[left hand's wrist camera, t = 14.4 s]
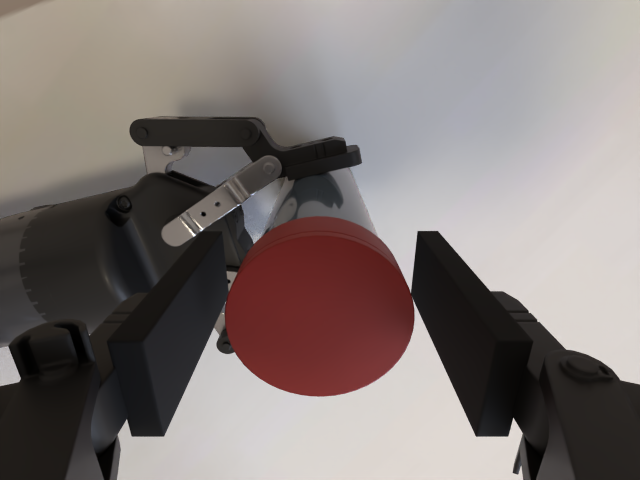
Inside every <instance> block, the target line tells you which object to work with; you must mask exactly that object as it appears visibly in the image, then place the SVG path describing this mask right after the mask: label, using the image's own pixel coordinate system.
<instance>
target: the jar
mask: <svg viewBox="0 0 640 480" xmlns="http://www.w3.org/2000/svg"><path fill="white" fill-rule="evenodd" d="M313 216H328V217H335V218H341V219H344V220H348V221H351V222H353V223H356V224H358V225H360V226H362V227H364V228H366V229H367V230H369V231H371V232H372V233H373V234H375V235H376V236H377V237H378V235H377V233H376V230H375V228H374V225H373V223H372V221H371V218H370V216H369V213H368V211H367V208H366V206H365V204H364V201H363V199H362V196H361V194H360V192H359V189H358V187H357V184H356V182H355V180H354V177H353V175H352V172H351V171H350V169H349V168H343V169H339V170H335V171H330V172H326V173H322V174H317V175H313V176H308V177H304V178H300V179H296V180H291V181H288V178H287V176H286V178H285V180H284V183H283V185H282V188H281V190H280V192H279V195H278V197H277V200H276V202H275V204H274V207H273V209H272V212H271V214H270V216H269V219H268V221H267V223H266V226H265V228H264V231H263V233H262V235H261V237H262V236H263V235H265V234H266V233H267V232H269V231H270V230H272V229H273V228H275V227H277V226H279V225H281V224H283V223H286V222H289V221H291V220H295V219H299V218H304V217H313ZM378 238H379V237H378Z"/></svg>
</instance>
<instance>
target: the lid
mask: <svg viewBox="0 0 640 480" xmlns="http://www.w3.org/2000/svg"><path fill="white" fill-rule="evenodd" d="M225 327H226V331H227V335H228V338H229V341H230V343H231V346H232V348H233V350H234V351H235V353H236V355H237V356H238V358H239V359H240V360H241V361H242V363H243V364H244V365H245V366H246V367H247V368H248V369H249V370H250V371H251V372H252V373H253V374H255V375H256V376H257V377H259V378H260V379H261V380H263V381H265V382H266V383H268V384H270V385H272V386H274V387H276V388H279V389H281V390H284V391H287V392H290V393H295V394H299V395H306V396H334V395H340V394H345V393H349V392H352V391H355V390H358V389H360V388H363V387H365V386H367V385H369V384H371V383H373V382H375V381H376V380H378V379H379V378H381V377H382V376H383V375H385V374H386V373H387V372H388V371H389V370H390V369H391V368H392V367H393V366H394V365H395V364H396V363H397V362H398V361H399V359H400V358H401V356H402V355H403V353H404V352H405V350H406V348H407V346H408V344H409V342H410V339H411V335H412V332H413V327H414V305H413V299H412V296H411V293H410V290H409V287H408V285H407V283H406V281H405V279H404V276H403V274H402V272H401V270H400V268H399V266H398V264H397V262H396V260H395V258H394V256H393V254H392V253H391V251H390V250H389V248H388V247H387V246H386V245H385V244H384V243H383V242H382V241H381V239H380V238H378V237H377V236H376V235H375V234H373V233H372V232H371V231H369V230H367V229H366V228H364V227H362V226H360V225H358V224H356V223H353V222H351V221H348V220H344V219H341V218H335V217H328V216H313V217H304V218H299V219H295V220H291V221H289V222H286V223H283V224H281V225H279V226H277V227H275V228H273V229H272V230H270V231H269V232H267V233H266V234H265V235H263V236H262V237H261V238H260V239H259V240H258V241H257V242H256V243H255V244H254V245H253V246H252V247H251V249H250V250H249V251H248V253H247V255H246V256H245V258H244V260H243V262H242V264H241V266H240V268H239V270H238V272H237V275H236V277H235V279H234V281H233V283H232V286H231V288H230V291H229V293H228V296H227V300H226V305H225Z"/></svg>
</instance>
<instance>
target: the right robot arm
mask: <svg viewBox="0 0 640 480" xmlns="http://www.w3.org/2000/svg"><path fill="white" fill-rule="evenodd" d="M130 135H131V137H132V139H133V140H134V142H136V143H137V144H138V145H141V146H142V147H143V153H144V158H145V164H146V170H147V175H145V176H144V177H142V178H141V179H140V180H139V182H138V183H137V184H136V185H134V186H132V187H128V188H124V189H120V190H115V191H111V192H107V193H103V194H99V195H94V196H90V197H86V198H82V199H78V200H73V201H69V202H65V203H61V204H56V205H45V206H39V207H35V208H33V209H31V210H30V211H27V212H23V213H19V214H15V215H12V216H8V217H5V218H2V219H0V348H1V347H7V346H8V345H9V344H10V343H11V342H12V341H13V340H14V339H15V338H16V337H17V336H19V335H20V334H22V333H24V332H25V331H27V330H29V329H31V328H33V327H36V326H38V325H41V324H43V323H47V322H51V321H55V320H62V319H75V320H81V321H82V322H83V323H85V324H86V327H87V330H88V333H89V334H91V333H92V332H93V331H94V330H95V329H96V328H97V327H98V326H99V325H100V324H101V323H103V321H104V320H105V319H106V318H107V317H108V316H109V315H110V314H112V311H113V310H114V309H115V308H116V307H117V306H118V305H119V304H120V303H121V302H122V301H124V300H126V299H127V298H129V297H131V296H133V295H134V294H136V293H149V292H150V291H151V289H152V288H153V287H154V286H155V285H156V284H157V282H158V281H159V280H160V279H161V278H162V277H163V276H164V274H165V273H166V272H167V271H168V270H169V269H170V268H171V266H172V265H173V264H174V263H175V262H176V261H177V259H178V258H179V257H180V256H181V255H182V254H183V253H184V251H185V250H186V249H187V248H188V247H189V246H190V245H191V243H192V242H193V241H194V240H195V239H196V238H197V237H198V235H199V234H200V233H201V232H202V231H222V233H223V243H224V252H225V261H226V270H227V280H228V289H229V291H230V288H231V286H232V283H233V281H234V279H235V277H236V275H237V272H238V270H239V268H240V266H241V264H242V262H243V260H244V258H245V256H246V255H247V253H248V251H249V250H250V249H251V247H252V246H253V245H254V244H253V240H252V238H251V237H250V235H249V233H248V232H247V230H246V229H245V227H244V213H243V210H242V206H241V203H243V202H244V201H245V200H246V199H248V198H249V197H250V196H251V195H253V194H254V193H256V192H257V191H259V190H260V189H262V188H263V187H265V186H266V185H268V184H269V183H271V182H272V181H274V180H275V179H277V178H281V177H286V176H287V178H288V181H291V180H296V179H300V178H304V177H308V176H313V175H317V174H322V173H326V172H330V171H335V170H339V169H343V168H348V167H352V166H356V165H359V164H361V163H362V160H361V155H360V149H359V147H358V146H357V145H350V146H346V142H345V140H344V138H340V137H334V136H333V137H329V138H324V139H320V140H316V141H312V142H308V143H303V144H299V145H295V146H291V147H282V146H279V145H277V144H276V143H275V142H274V141H273V139H272V138H271V136H270V135H269V134H268V132H267V131H266V127H265V124H264V122H263V121H262V120H261V119H259V118H256V117H168V116H161V117H152V118H145V119H138V120H135V121H134V122H133V123H132V124H131V126H130ZM191 147H243V149H244V150H245V152H246V153H247V154H248V156H249V157H250V159H251V160H252V161H253V162H251V163H250V164H248V165H247V166H245V167H244V168H242V169H241V170H239V171H238V172H236V173H235V174H233V175H232V176H230V177H229V178H228V179H226V180H225V181H223V182H222V183H220V184H219V185H218V186H216V187H214V186H211V185H208V184H206V183H203V182H201V181H198V180H196V179H193V178H191V177H188V176H186V175H183V174H181V173H178V172H176V171H173V170H172V164H173V162H174V161H177V160H180V159H182V158H184V157H186V156H188V155H189V153H190V151H191ZM225 305H226V304H224V306H223V309H222V311H221V313H220V315H219V317H218V320H217V322H216V324H215V326H214V328H215V329H216V331H217V332H218V333H219V335H220V336H219V339H218V341H217V348H218V350H219V351H220V352H222V353H225V354H231V353H233V352H235V351H234V350H233V348H232V346H231V343H230V341H229V338H228V335H227V331H226V327H225Z"/></svg>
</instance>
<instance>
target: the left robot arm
mask: <svg viewBox="0 0 640 480" xmlns="http://www.w3.org/2000/svg"><path fill="white" fill-rule="evenodd" d="M228 293H229V289H228V280H227V270H226V261H225V252H224V243H223V233H222V231H202V232H201V233H200V234H199V235H198V237H197V238H196V239H195V240H194V241H193V242H192V243H191V245H190V246H189V247H188V248H187V249H186V250H185V251H184V253H183V254H182V255H181V256H180V257H179V258H178V259H177V261H176V262H175V263H174V264H173V265H172V266H171V268H170V269H169V270H168V271H167V272H166V273H165V274H164V276H163V277H162V278H161V279H160V280H159V281H158V282H157V284H156V285H155V286H154V287H153V288H152V289H151V291H150V292H149V293H136V294H134V295H133V296H131V297H129V298H127V299H126V300H124V301H122V302H121V303H120V304H119V305H118V306H117V307H116V308H115V309H114V310H113V311H112V314H110V315H109V316H108V317H107V318H106V319H105V320H104V321H103V323H101V324H100V325H99V326H98V327H97V328H96V329H95V330H94V331H93V332H92V333H91V334H90V335H89V333H88V330H87V327H86V324H85V323H83V322H82V321H81V320H75V319H62V320H55V321H51V322H47V323H43V324H41V325H38V326H36V327H33V328H31V329H29V330H27V331H25V332H24V333H22V334H20V335H19V336H17V337H16V338H15V339H14V340H13V341H12V342H11V343H10V344H9V345H8V346H9V349H10V352H11V354H12V357H13V359H14V362H15V364H16V367H17V369H18V372H19V375H20V377H21V380H20V382H18V383H14V384H9V385H4V386H0V480H117V474H118V466H119V459H120V451H121V449H120V442H119V438H118V435H117V434H118V433H119V431H120V429H121V428H122V426H123V424H124V423H125V421H126V419H127V420H128V424H129V428H130V432H131V435H132V436H164V435H165V433H166V431H167V429H168V426H169V424H170V422H171V420H172V418H173V416H174V413H175V411H176V409H177V407H178V405H179V402H180V400H181V398H182V396H183V394H184V392H185V389H186V387H187V385H188V383H189V381H190V378H191V376H192V374H193V372H194V370H195V368H196V365H197V363H198V361H199V359H200V357H201V354H202V352H203V350H204V348H205V346H206V344H207V341H208V339H209V337H210V335H211V333H212V330H213V328H214V326H215V324H216V322H217V320H218V317H219V315H220V313H221V311H222V309H223V306H224V304H225V302H226V300H227V296H228ZM411 296H412V298H413V300H414V302H415V304H416V306H417V309H418V311H419V313H420V315H421V317H422V320H423V322H424V324H425V326H426V328H427V330H428V333H429V335H430V337H431V339H432V341H433V344H434V346H435V348H436V350H437V352H438V354H439V357H440V359H441V361H442V363H443V365H444V368H445V370H446V372H447V374H448V376H449V378H450V381H451V383H452V385H453V387H454V389H455V392H456V394H457V396H458V398H459V400H460V402H461V405H462V407H463V409H464V411H465V413H466V416H467V418H468V420H469V422H470V424H471V427H472V429H473V431H474V433H475V435H476V436H508V435H509V432H510V428H511V424H512V420H513V418H514V419H515V421H516V422H517V424H518V426H519V427H520V429H521V431H522V432H523V435H522V438H521V442H520V445H519V449H518V452H517V456H516V459H515V463H514V468H513V473H515V474H518V473H519V470H520V466H521V465H522V473H523V480H640V385H639V384H634V383H630V382H625V381H621V380H620V379H619V378H618V376H617V375H616V374H615V373H614V371H613V370H612V369H611V368H609V367H608V366H606V365H605V364H604V363H602V362H601V361H599V360H597V359H595V358H593V357H591V356H589V355H586V354H583V353H580V352H576V351H572V350H566V349H565V348H564V347H563V346H562V345H561V344H560V343H559V342H558V341H557V340H556V339H555V338H554V337H553V336H552V335H551V334H550V333H549V332H548V331H547V329H546V328H545V327H544V326H543V325H542V324H541V323H540V322H537V319H536V318H535V317H534V316H533V315H532V314H531V313H529V311H528V310H527V309H526V308H525V307H524V306H523V305H522V304H521V303H520V302H519V301H518V300H517V299H515V298H513V297H512V296H510V295H508V294H506V293H505V292H503V291H489V289H488V288H487V287H486V286H485V285H484V284H483V282H482V281H481V280H480V279H479V278H478V277H477V276H476V274H475V273H474V272H473V271H472V270H471V269H470V268H469V266H468V265H467V264H466V263H465V262H464V261H463V260H462V258H461V257H460V256H459V255H458V254H457V253H456V251H455V250H454V249H453V248H452V247H451V246H450V245H449V243H448V242H447V241H446V240H445V239H444V238H443V237H442V235H441V234H440V233H439V232H438V231H418V233H417V242H416V252H415V261H414V270H413V280H412V289H411Z"/></svg>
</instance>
